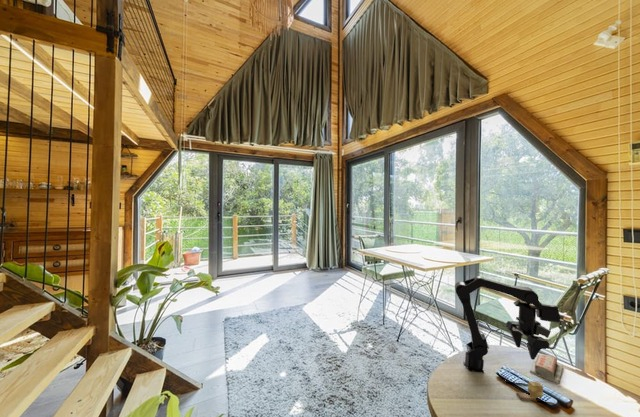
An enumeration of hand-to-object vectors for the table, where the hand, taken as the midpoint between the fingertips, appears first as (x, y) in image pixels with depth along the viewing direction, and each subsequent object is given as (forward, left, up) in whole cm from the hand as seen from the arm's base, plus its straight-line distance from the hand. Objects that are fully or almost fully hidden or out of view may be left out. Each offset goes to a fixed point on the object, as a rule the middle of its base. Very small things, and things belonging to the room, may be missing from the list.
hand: (525, 353), depth 114 cm
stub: (-3, -11, -12) cm, 17 cm away
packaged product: (+16, +10, -13) cm, 23 cm away
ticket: (-3, 0, -12) cm, 12 cm away
